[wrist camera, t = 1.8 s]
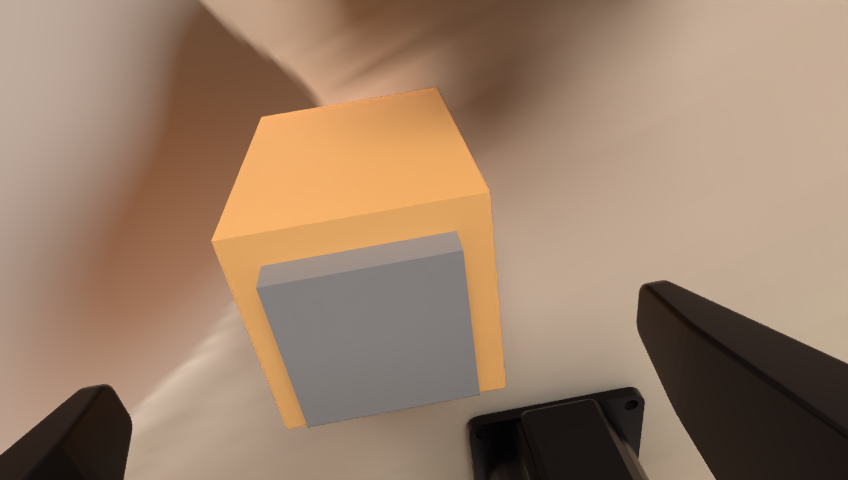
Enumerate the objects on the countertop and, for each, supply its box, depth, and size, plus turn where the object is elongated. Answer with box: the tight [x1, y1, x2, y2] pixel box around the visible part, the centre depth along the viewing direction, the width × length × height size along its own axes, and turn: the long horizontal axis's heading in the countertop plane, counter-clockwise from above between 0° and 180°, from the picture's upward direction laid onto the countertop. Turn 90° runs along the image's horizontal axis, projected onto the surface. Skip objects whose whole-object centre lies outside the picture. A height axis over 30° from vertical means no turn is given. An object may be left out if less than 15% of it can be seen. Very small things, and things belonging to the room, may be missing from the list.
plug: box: [211, 87, 506, 429], centre depth 12 cm, size 4×4×7 cm
